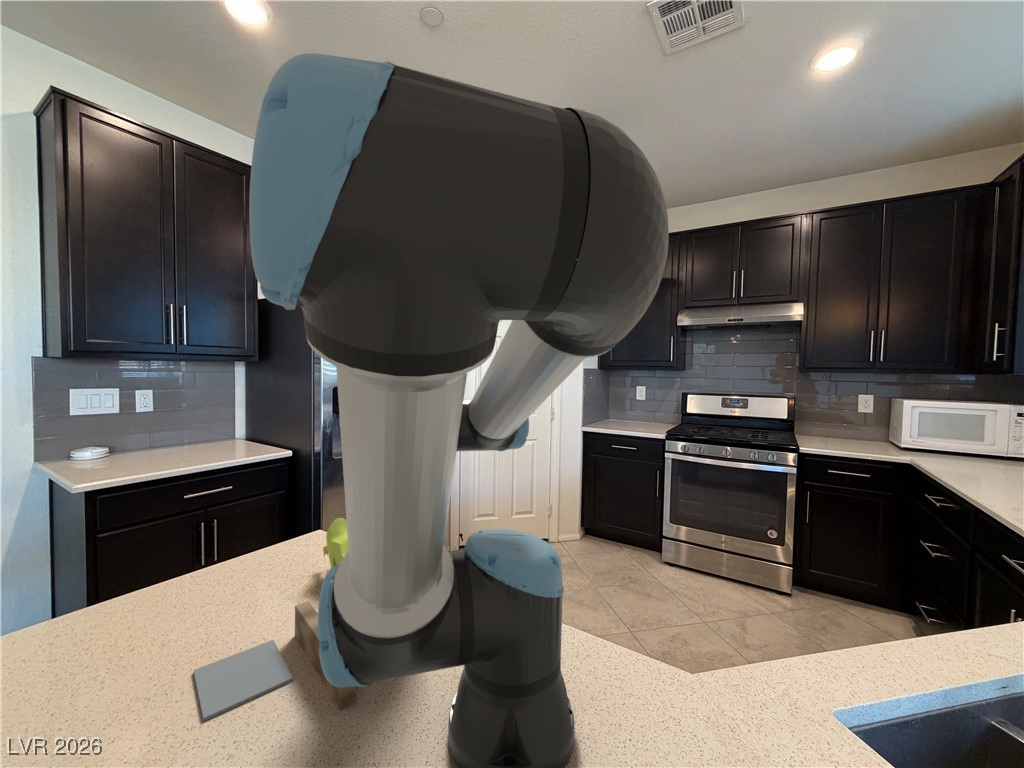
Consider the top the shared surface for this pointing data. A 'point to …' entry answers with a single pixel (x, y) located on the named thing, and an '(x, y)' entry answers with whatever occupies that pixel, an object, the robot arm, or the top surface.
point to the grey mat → (240, 678)
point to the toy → (336, 541)
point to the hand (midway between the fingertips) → (394, 620)
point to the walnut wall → (309, 642)
